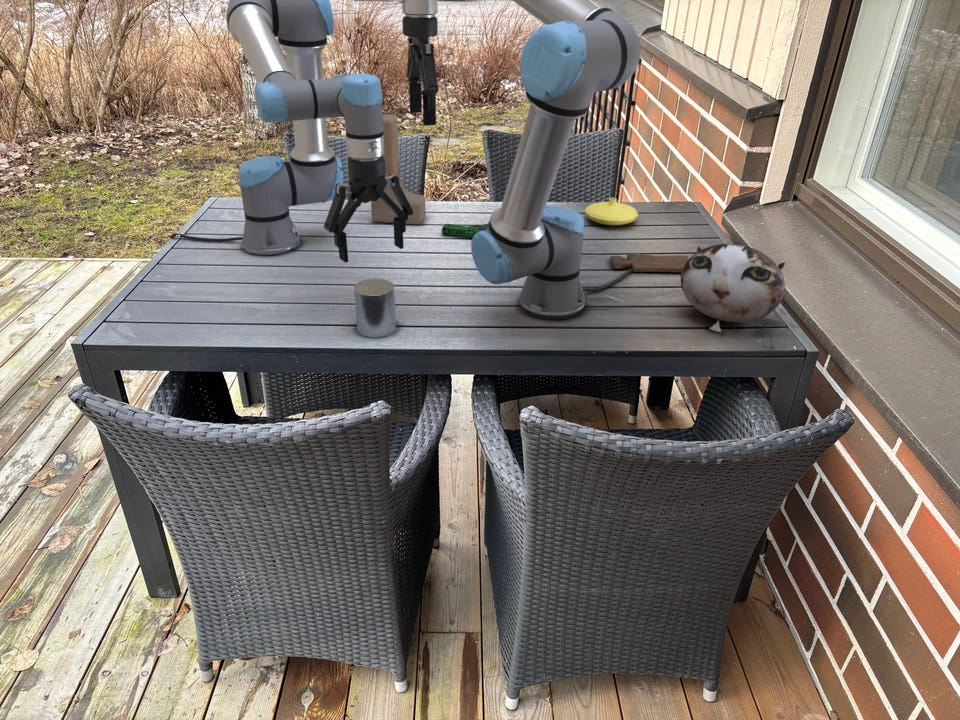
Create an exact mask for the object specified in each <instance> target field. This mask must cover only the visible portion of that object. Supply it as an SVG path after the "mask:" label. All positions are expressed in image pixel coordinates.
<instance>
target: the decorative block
mask: <svg viewBox="0 0 960 720" xmlns="http://www.w3.org/2000/svg"><path fill="white" fill-rule="evenodd" d="M397 116H398V115H396V114H390V113H389V114H387V113H383V135H384V155H383V157H384V158H385V177H388V176H389V174H390V173H392V174H394V175H396V176H398V177H399V181H400V187H401V188H402V190H403V192H404V194H405V196H406V198H407V200H408V202H409V204H410V206H411V208H412V209H413V214H412V215H409V216H408V220H406V225H417V226H418V225H422V223H423V221H424V220H425V218H426V197H425V195H423V194H418V193H414V192H410V191H409V190H407V189H406V188H405V186H404V184H403V182H402V180H401V175H400V151H399V127H398V126H399V125H398V117H397ZM384 192H385V193H386V194H387V195H388V196H389V198H390V199H391V200H392V201H393V202H394V203H395V204H396V205H397V206H398V207H399V208H400V209H401V210H403V209H402V207H401V205H400V203H399V202H398V200H397V198H396V196H395V194H394V192H393V190H392V189H391V187H390V185H388V183H387V185H386V187H385V189H384ZM370 209H371V221H372V222H374V223H387V224H394V222H393V217H397V215H396V214H395V213H394V212H393V211H392V210H391V209H390V208H389V207H388V206H387V205H386V204H385V203H384V202H383V201H382V200H381V199H380V198H379V199H378V201H370ZM397 218H398V217H397Z"/></svg>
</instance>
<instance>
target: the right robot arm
mask: <svg viewBox="0 0 960 720" xmlns="http://www.w3.org/2000/svg"><path fill="white" fill-rule="evenodd" d="M511 1H512V2H514V3H515V4H516V5H518V6H519V7H520V8H522V9H523V10H525V11H526V12H527V13H529V14H530V15H531V16H533V17H535V19H537V20H538V21H539V22H541V23H542V24H543V25H541V26H540V27H538V28H537V29H536V30H534V31H533V32H532V33H531V34H530V35H529V37H528V38H527V40H526V42H525V44H524V45H523V48H522V51H521V55H520V59H519V71H520V72H522V73H521V75H520V80H521V84H522V86H523V88H524V90H525V93H524V95H525V98H526V99H527V101H528V103H529V104H530V106H529V109H528V113H527V115H526V120H525V123H524V126H523V130H522V133H521V137H520V140H519V143H518V146H517V150H516V154H515V157H514V161H513V164H512V168H511V171H510V174H509V177H508V181H507V185H506V189H505V192H504V195H503V199H502V202H501V205H500V207H499V208H497V209H494V210H493V211H492V213H491V214H490V217H489V221H488V223H487V224H488V227H487V229H486V230H485V231H479V232H478V233H476V234H475V235H474V236H473V238H471V242H470V243H471V244H470V252H471V256H472V260H473V262H474V265H475V268H476V270H477V271H478V273H479V274H480V275H481V276H482V278H483V279H484V280H485V281H486V282H488V283H490V284H492V285H501V284H507V283H508V284H509V283H511V282H513V281H516V280H519V279H522V278H525V277H526V278H525V281H524V283H523V286H522V288H521V291H520V293H519V295H518V296H519V297H518V298H519V299H518V306H519V307H520V309H521V310H522V311H523V312H524V313H526V314H528V315H529V316H532V317H535V318H538V319H543V320H557V321H558V320H559V321H560V320H566V319H567V320H568V319H572V318H574V317H576V316H579V315H581V314H582V313H583V312H584V310H585V305H586V298H585V293H586V292H589V293H590V292H591V293H592V292H598V291H602V290H604V289H606V288H608V287H610V286H612V285H614V284H615V283H618V282H620V281H621V280H622V279H624V278H625V277H626V276H627V275H628V274H630V273H632V272H633V268H632V267H631V268H628V269H627V270H626V271H625V272H623V273H622V274H620V276H618V277H616V278H614V279H613V280H611V281H610V282H608V283H605V284H603V285H601V286H597V287H585V288H584V287H583V285H582V282H581V277H580V275H581V274H580V273H581V263H582V255H583V254H582V253H583V244H584V237H585V236H584V235H585V231H584V230H585V228H584V227H585V220H584V217H583V215H582V214H581V213H579V212H578V211H576V210H574V209H571V208H567V207H563V206H559V205H548V202H549V198H550V196H551V193H552V190H553V187H554V184H555V181H556V178H557V175H558V172H559V171H560V170H559V169H560V167H561V163H562V161H563V157H564V155H565V153H566V150H567V146H568V144H569V140H570V138H571V135H572V132H573V129H574V126H575V123H576V120H577V119H580V118H582V117H584V116H586V115H587V114H588V112H589V109H590V106H591V103H592V101H593V98H594V95H595V93H599V92H606V91H610V90H614V89H617V88H619V87H620V86H623V85H624V84H625V83H627V82H628V81H629V80H630V79H631V77H633V75H634V74H635V72H636V70H637V68H638V65H639V63H640V59H641V55H642V54H641V52H642V51H641V49H642V48H641V41H640V37H639V35H638V31H636V30H635V27H634V26H633V25H632V24H631V23H630V22H629V21H628V20H627V19H625V18H624V17H623V16H622V15H620V14H619V13H618V12H615V11H614V10H613V9H611V8H609V7H606V6H602V7H597V6H595V5H594V4H593V3H591V2H589V1H588V0H511ZM398 2H399V3H400V4H401V11H402V14H403V15H404V16H403V17H402V19H401V20H402V21H401V22H402V34H403V36H405V37H407V42H408V43H407V44H408V46H407V47H408V48H407V59H406V61H407V62H406V73H405V76H406V78H407V81H408V99H409V113H410V114H413V113H415V114H416V113H422V120H423V121H422V124H423V126H425V127H426V126H437V101H436V99H437V98H436V97H437V96H436V95H437V93H439V90H440V89H439V84H438V76H437V68H436V60H435V45H434V43H430V38H432V37H437V36H438V35H439V30H438V28H439V27H438V25H439V24H438V23H439V22H438V21H439V19H438V18H437V16H436V15H437V14H438V12H439V11H438V7H439V5H438V3H439V2H438V0H398ZM584 292H585V293H584Z"/></svg>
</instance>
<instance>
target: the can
mask: <svg viewBox="0 0 960 720" xmlns="http://www.w3.org/2000/svg"><path fill="white" fill-rule="evenodd" d="M395 291H396V289H395V285H394V283H393V282H392V281H390V280H387V279H384V278H368V279H364V280H361V281H359V282H357V283H356V284H354V286H353V295H354V306H355V307H354V308H355V318H356V319H355V320H356V330H357V332H358V334H360V335H361V336H364V337H368V338H383V337H387V336H390V335H392V334H393V333H394V332H396V329H397V311H396V293H395Z"/></svg>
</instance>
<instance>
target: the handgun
mask: <svg viewBox="0 0 960 720" xmlns="http://www.w3.org/2000/svg"><path fill="white" fill-rule="evenodd" d="M487 227H488V223H483V224H482V225H479V224H472V225H459V224H453V223H445V224H443V226H442V227H441V235H446V236H454V237H462V238H469V239H470V238H471V239H472V238H473V236H474V235H475V234H476V233H478V232H479V231H485V230H486V229H487Z"/></svg>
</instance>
